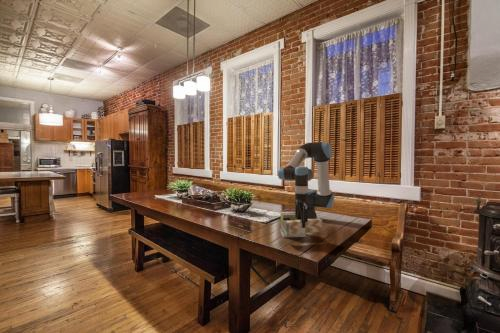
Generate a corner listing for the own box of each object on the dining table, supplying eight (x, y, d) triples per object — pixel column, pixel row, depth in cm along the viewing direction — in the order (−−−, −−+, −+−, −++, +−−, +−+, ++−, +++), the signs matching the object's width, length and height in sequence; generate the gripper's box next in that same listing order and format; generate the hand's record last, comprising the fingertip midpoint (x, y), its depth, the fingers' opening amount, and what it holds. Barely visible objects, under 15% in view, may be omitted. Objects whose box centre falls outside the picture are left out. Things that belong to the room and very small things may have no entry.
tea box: (302, 232, 169) (302, 211, 168) (306, 237, 159) (306, 214, 158) (280, 232, 168) (280, 211, 167) (282, 237, 158) (283, 214, 157)
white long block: (317, 228, 155) (317, 217, 155) (323, 232, 148) (323, 221, 147) (281, 231, 150) (281, 220, 150) (286, 235, 142) (286, 223, 142)
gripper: (289, 190, 155) (289, 227, 156) (302, 195, 138) (301, 236, 139) (300, 190, 156) (300, 227, 158) (314, 194, 140) (313, 235, 141)
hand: (301, 231), depth 149 cm, fingers closed on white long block, 4 cm apart
